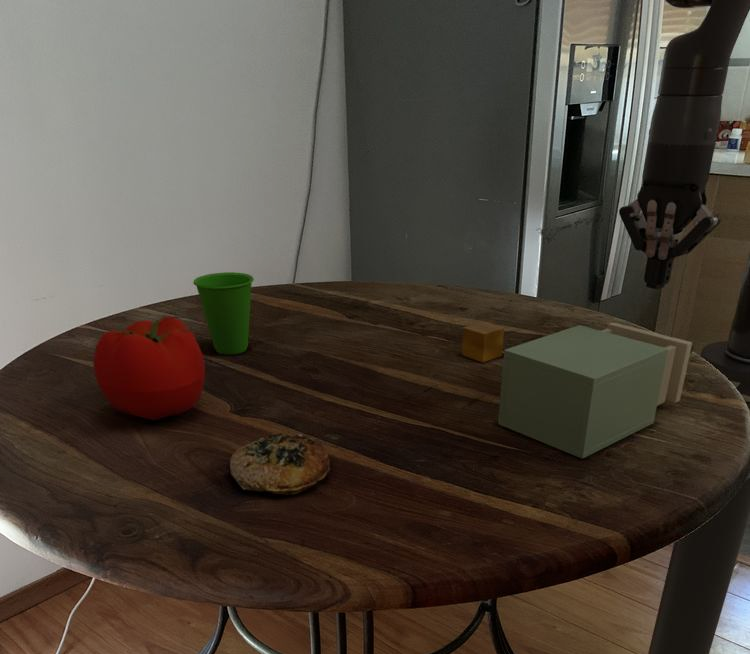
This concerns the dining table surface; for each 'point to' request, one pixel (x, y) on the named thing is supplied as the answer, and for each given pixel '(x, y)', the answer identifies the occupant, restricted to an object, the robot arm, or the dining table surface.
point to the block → (482, 341)
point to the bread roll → (280, 464)
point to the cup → (226, 309)
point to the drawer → (674, 360)
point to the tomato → (150, 368)
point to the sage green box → (580, 388)
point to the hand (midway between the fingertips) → (655, 287)
